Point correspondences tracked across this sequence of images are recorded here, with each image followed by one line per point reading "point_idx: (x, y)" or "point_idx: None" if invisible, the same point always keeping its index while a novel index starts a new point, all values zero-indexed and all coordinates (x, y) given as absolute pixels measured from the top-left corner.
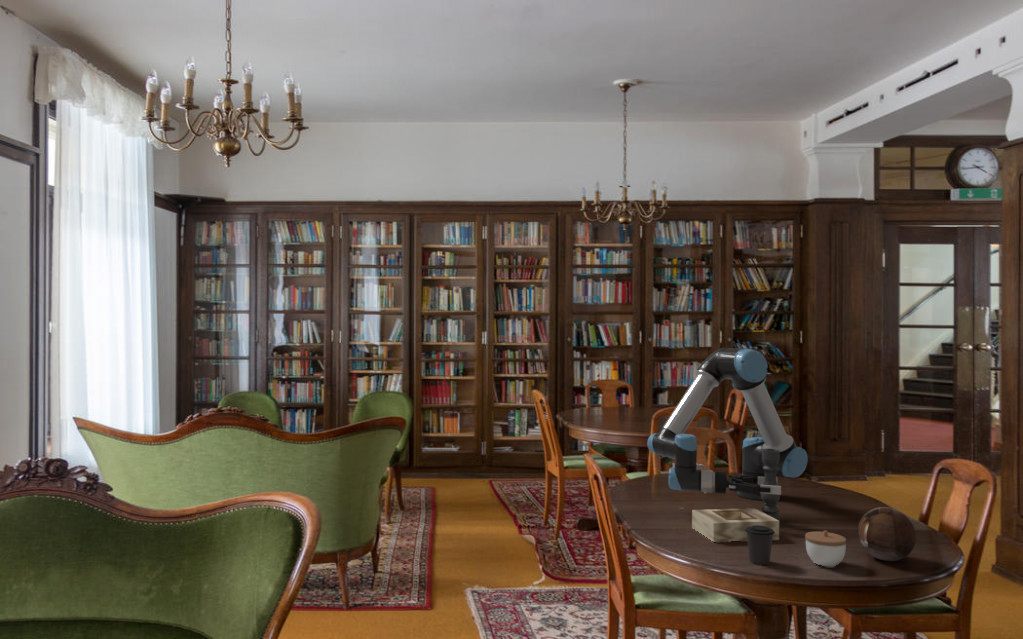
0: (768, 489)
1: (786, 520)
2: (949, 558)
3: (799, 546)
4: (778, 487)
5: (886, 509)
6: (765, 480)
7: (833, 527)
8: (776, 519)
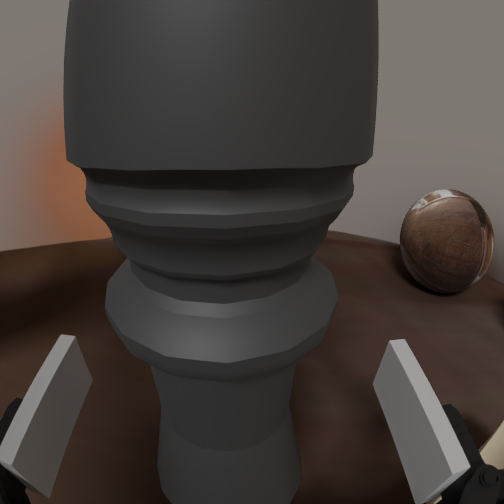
0: (456, 419)
1: (155, 448)
2: (357, 237)
3: (483, 403)
4: (408, 357)
5: (466, 194)
6: (260, 443)
7: None
8: (497, 429)
